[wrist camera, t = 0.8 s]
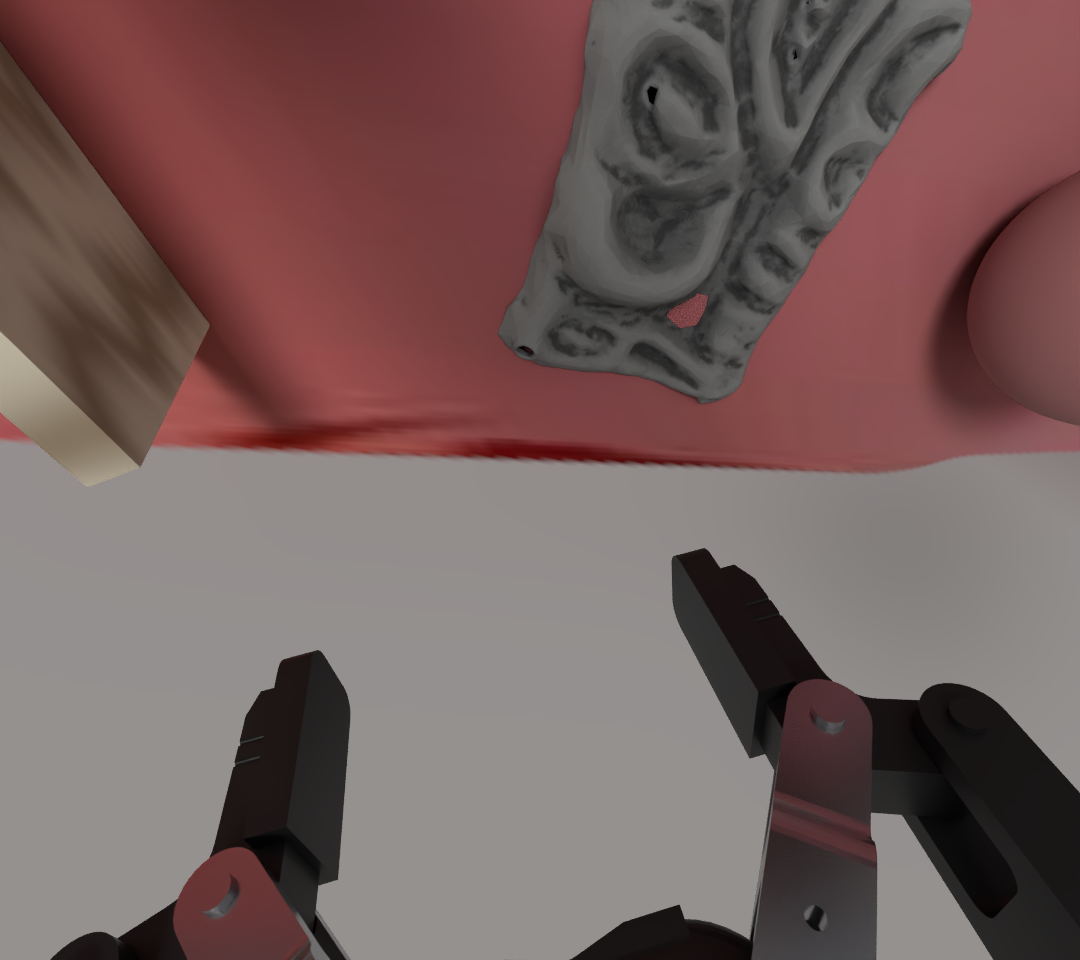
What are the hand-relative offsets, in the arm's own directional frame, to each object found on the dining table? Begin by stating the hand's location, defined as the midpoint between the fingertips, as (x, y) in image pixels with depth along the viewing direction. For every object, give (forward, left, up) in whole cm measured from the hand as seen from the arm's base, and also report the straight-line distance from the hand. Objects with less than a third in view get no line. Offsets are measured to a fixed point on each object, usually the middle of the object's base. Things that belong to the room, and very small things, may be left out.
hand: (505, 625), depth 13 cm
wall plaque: (+1, +15, -23) cm, 28 cm away
